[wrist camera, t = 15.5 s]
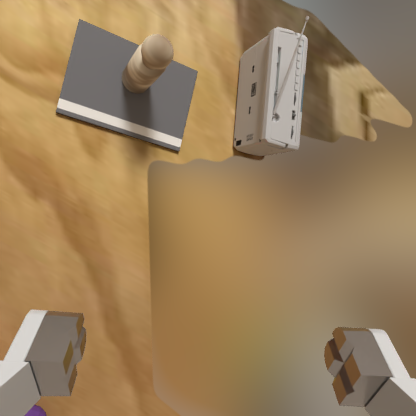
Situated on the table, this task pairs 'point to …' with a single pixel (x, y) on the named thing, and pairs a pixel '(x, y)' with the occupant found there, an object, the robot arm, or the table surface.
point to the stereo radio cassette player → (271, 94)
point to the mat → (123, 90)
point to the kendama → (36, 411)
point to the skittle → (147, 63)
